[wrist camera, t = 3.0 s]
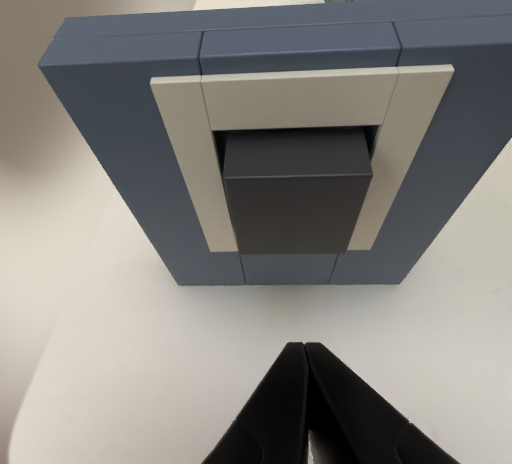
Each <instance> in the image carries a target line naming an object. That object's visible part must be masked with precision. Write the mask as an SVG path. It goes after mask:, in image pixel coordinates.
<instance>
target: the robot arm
mask: <svg viewBox="0 0 512 464" xmlns="http://www.w3.org/2000/svg"><path fill="white" fill-rule="evenodd" d="M309 439H310V444H311V450H312V455H313V460H314V464H460V463H459V462H458V461H456V460H455V459H454V458H452V457H451V456H450V455H449V454H447V453H446V452H445V451H444V450H443V449H441V448H440V447H439V446H438V445H437V444H435V443H434V442H433V441H432V440H431V439H430V438H428V437H427V436H426V435H425V434H424V433H423V432H421V431H420V430H419V429H418V428H417V427H416V426H415V425H414V424H412V423H409V420H408V419H407V418H405V417H404V416H403V415H402V414H401V413H400V412H399V411H397V410H396V409H395V408H394V407H393V406H392V405H391V404H390V403H388V402H387V401H386V400H385V399H384V398H383V397H382V396H380V395H379V394H378V393H377V392H376V391H375V390H374V389H373V388H371V387H370V386H369V385H368V384H367V383H366V382H365V381H363V380H362V379H361V378H360V377H359V376H358V375H357V374H356V373H354V372H353V371H352V370H351V369H350V368H349V367H348V366H346V365H345V364H344V363H343V362H342V361H341V360H340V359H339V358H337V357H336V356H335V355H334V354H333V353H332V352H331V351H329V350H328V349H327V348H326V347H325V346H324V345H323V344H321V343H319V342H307V343H305V344H303V343H301V342H289V343H287V344H286V346H285V347H284V349H283V350H282V352H281V353H280V355H279V356H278V357H277V359H276V360H275V362H274V363H273V365H272V366H271V368H270V369H269V371H268V372H267V373H266V375H265V376H264V378H263V379H262V381H261V382H260V384H259V385H258V387H257V388H256V389H255V391H254V392H253V394H252V395H251V397H250V398H249V400H248V401H247V403H246V404H245V406H244V407H243V408H242V410H241V411H240V413H239V414H238V416H237V417H236V420H234V421H233V423H232V424H231V426H230V427H229V429H228V430H227V432H226V433H225V434H224V436H223V437H222V438H221V440H220V441H219V442H218V444H217V445H216V446H215V448H214V449H213V450H212V451H211V453H210V454H209V455H208V456H207V457H206V458H205V460H204V461H203V462H202V463H201V464H308V452H309Z"/></svg>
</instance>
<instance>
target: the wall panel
mask: <svg viewBox="0 0 512 464" xmlns="http://www.w3.org/2000/svg"><path fill="white" fill-rule="evenodd" d="M38 67H39V69H40V70H41V72H42V73H43V75H44V76H45V78H46V79H47V81H48V83H49V84H50V86H51V87H52V89H53V90H54V92H55V93H56V95H57V97H58V98H59V100H60V101H61V103H62V104H63V106H64V107H65V109H66V111H67V112H68V114H69V115H70V117H71V118H72V120H73V122H74V123H75V125H76V126H77V128H78V129H79V131H80V132H81V134H82V136H83V137H84V139H85V140H86V142H87V143H88V145H89V146H90V148H91V150H92V151H93V153H94V154H95V156H96V157H97V159H98V161H99V162H100V164H101V165H102V167H103V168H104V170H105V171H106V173H107V174H108V176H109V178H110V179H111V181H112V182H113V184H114V185H115V187H116V189H117V190H118V192H119V193H120V195H121V196H122V198H123V200H124V201H125V203H126V204H127V206H128V207H129V209H130V210H131V212H132V214H133V215H134V217H135V218H136V220H137V221H138V223H139V224H140V226H141V228H142V229H143V231H144V232H145V234H146V235H147V237H148V239H149V240H150V242H151V243H152V245H153V246H154V248H155V249H156V251H157V253H158V254H159V256H160V257H161V259H162V260H163V262H164V263H165V265H166V267H167V268H168V270H169V271H170V273H171V274H172V276H173V278H174V279H175V281H176V282H177V284H178V285H245V284H247V285H286V284H400V283H401V282H402V281H403V279H404V278H405V277H406V276H407V274H408V273H409V272H410V270H411V269H412V268H413V266H414V265H415V264H416V262H417V261H418V260H419V258H420V257H421V256H422V255H423V253H424V252H425V251H426V249H427V248H428V247H429V245H430V244H431V243H432V241H433V240H434V239H435V237H436V236H437V235H438V233H439V232H440V231H441V230H442V228H443V227H444V226H445V224H446V223H447V222H448V220H449V219H450V218H451V216H452V215H453V214H454V212H455V211H456V210H457V208H458V207H459V206H460V205H461V203H462V202H463V201H464V199H465V198H466V197H467V195H468V194H469V193H470V191H471V190H472V189H473V187H474V186H475V185H476V184H477V182H478V181H479V180H480V178H481V177H482V176H483V174H484V173H485V172H486V170H487V169H488V168H489V166H490V165H491V164H492V162H493V161H494V160H495V159H496V157H497V156H498V155H499V153H500V152H501V151H502V149H503V148H504V147H505V145H506V144H507V143H508V141H509V140H510V139H511V137H512V0H376V1H358V2H340V3H322V4H304V5H286V6H268V7H250V8H232V9H214V10H196V11H178V12H160V13H143V14H124V15H106V16H89V17H70V18H65V20H64V21H63V23H62V25H61V26H60V28H59V29H58V31H57V33H56V34H55V36H54V40H52V42H51V43H50V45H49V46H48V48H47V49H46V51H45V53H44V54H43V56H42V58H41V59H40V61H39V63H38ZM348 129H362V130H363V131H364V135H365V139H366V144H367V148H368V153H369V158H370V162H371V167H372V171H373V178H372V180H371V183H370V186H369V189H368V192H367V195H366V198H365V200H364V203H363V206H362V209H361V212H360V215H359V217H358V220H357V223H356V226H355V229H354V232H353V235H352V237H351V240H350V243H349V246H348V249H347V252H346V253H345V254H278V255H240V254H239V252H238V247H237V242H236V238H235V233H234V228H233V224H232V219H231V214H230V210H229V205H228V200H227V196H226V191H225V186H224V182H223V172H224V162H225V151H226V140H227V135H228V134H229V133H258V132H288V131H318V130H348Z"/></svg>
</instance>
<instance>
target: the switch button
mask: <svg viewBox="0 0 512 464" xmlns="http://www.w3.org/2000/svg"><path fill="white" fill-rule="evenodd" d="M372 178H373V171H372V167H371V162H370V158H369V153H368V148H367V144H366V139H365V135H364V131H363V130H362V129H348V130H318V131H288V132H258V133H229V134H228V135H227V140H226V151H225V162H224V172H223V182H224V186H225V191H226V196H227V200H228V205H229V210H230V214H231V219H232V224H233V228H234V233H235V238H236V242H237V247H238V252H239V254H240V255H278V254H345V253H346V252H347V249H348V246H349V243H350V240H351V237H352V235H353V232H354V229H355V226H356V223H357V220H358V217H359V215H360V212H361V209H362V206H363V203H364V200H365V198H366V195H367V192H368V189H369V186H370V183H371V180H372Z"/></svg>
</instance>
